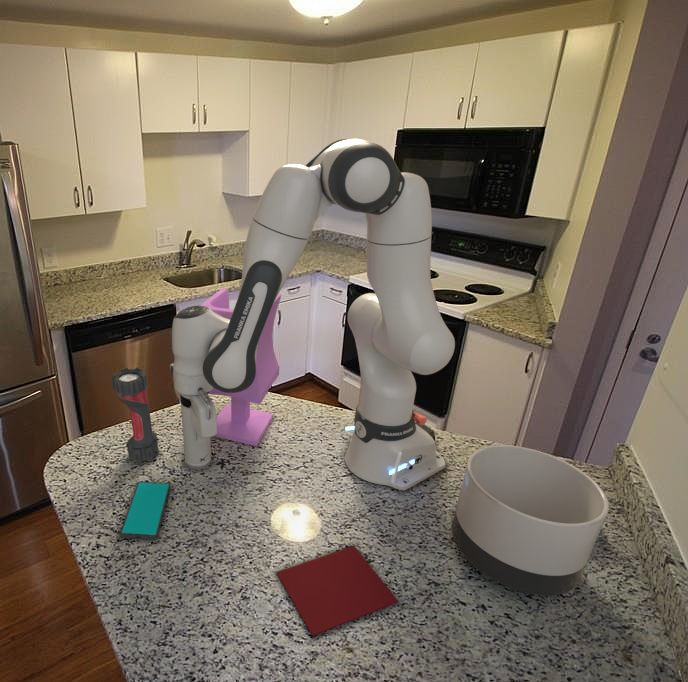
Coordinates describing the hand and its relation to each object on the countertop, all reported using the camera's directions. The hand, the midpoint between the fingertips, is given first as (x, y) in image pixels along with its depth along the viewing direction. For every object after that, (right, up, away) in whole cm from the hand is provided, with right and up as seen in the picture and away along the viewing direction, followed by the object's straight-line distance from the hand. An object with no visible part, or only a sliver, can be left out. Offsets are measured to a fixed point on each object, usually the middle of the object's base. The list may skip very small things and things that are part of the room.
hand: (195, 431), depth 107 cm
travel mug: (+1, -8, +4) cm, 9 cm away
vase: (+12, -2, +17) cm, 20 cm away
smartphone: (-10, -14, -10) cm, 20 cm away
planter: (+57, -18, -24) cm, 64 cm away
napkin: (+24, -21, -28) cm, 43 cm away
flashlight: (-14, -7, +6) cm, 17 cm away
